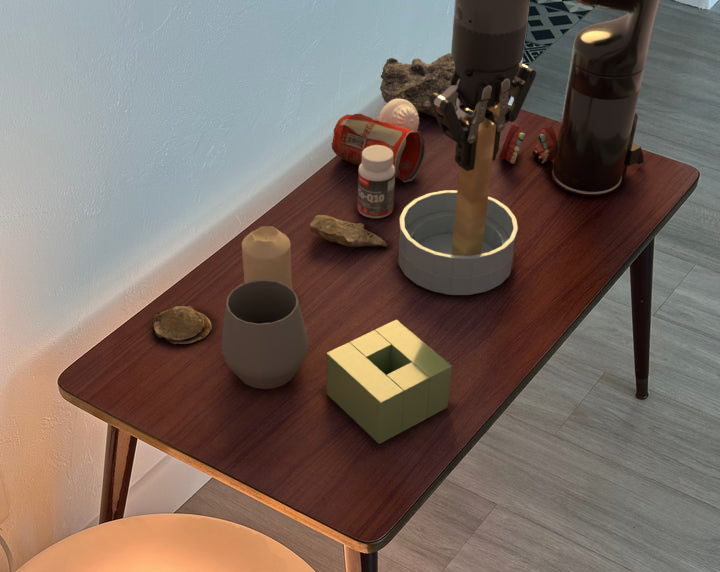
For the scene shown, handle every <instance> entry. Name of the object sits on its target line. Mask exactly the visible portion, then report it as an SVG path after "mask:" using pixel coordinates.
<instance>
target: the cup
mask: <svg viewBox="0 0 720 572" xmlns="http://www.w3.org/2000/svg"><path fill="white" fill-rule="evenodd" d="M224 309H225V310H224V319H223V327H222V333H221V334H222V336H221V343H220V350H221V353H222V356H223V359H224V362H225V364H226V365H227V366H228V367H229V368H230V369H231V371H232V372H233V373H234V374H235V375H236V376H237V377H238V379H240V380H241V381H242V382H243V384H245V385H247V386H249V387H251V388H254V389H260V390H271V389H276V388H279V387H282V386H284V385H286V384H287V383H288V382H290V381H291V380H292V379H293V378H294V376H295V375H296V373H297V372H298V370H299V369H300V367H301V366H302V365H303V363H304V362H305V360H306V359H307V356H308V350H309V337H308V333H307V328H306V325H305V324H306V323H305V320H304V316H303V313H302V308H301V305H300V301H299V297H298V295H297V293H296V291H295V290H294V289H293V288H292V289H291V288H290V287H289V286H288V285H286V284H283V283H281V282H278V281H273V280H266V279H265V280H253V281H250V282H246V283H245V282H244V283H241V284H240V285H238V286H236V287H234V288H233V289H232V290H231V291H230V293H229V294H228V295H227V297H226V302H225V308H224Z"/></svg>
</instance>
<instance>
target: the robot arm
mask: <svg viewBox="0 0 720 572" xmlns="http://www.w3.org/2000/svg"><path fill="white" fill-rule="evenodd" d="M575 1H576V2H577V3H579V4H581V5H585V6H589V7H593V8H601V9H607V10H613V11H620V12H626V14H624V15H622V16H620V17H618V18H617V17H616V18H615V19H611V20H606V21H602V22H597V23H593V24H591V25H588V26H586V27H584V28H582V29H580V31H579V32H578V33H577V34H576V36H575V38H574V40H573V45H572V50H571V57H570V64H569V68H568V69H569V70H568V75H567V76H568V77H567V82H566V89H565V94H564V101H563V108H562V114H561V119H560V126H559V131H558V138H557V143H556V146H555V149H554V153H555V151H556V155H555V159H554V163H553V167H552V170H551V179H552V181H553V182H554V184H555V185H556V186H557V187H558V188H559V189H561V190H563V191H564V192H567V193H568V194H572V195H575V196H578V197H579V196H580V197H586V198H598V197H604V196H608V195H610V194H613V193H614V192H616V191H617V190H618V189H619V188H620V187H621V184H622V180H623V179H625V178H626V176H627V170H628V168H629V167H631V166H632V165H634V164H637V165H641V164H643V163H644V162H645V159H644V153H643V151H642V146H640V145H639V144H637V143H635V142H634V139H635V133H636V129H637V124H638V121H639V115H638V113H637V111H636V110H637V107H638V101H639V96H640V92H641V86H642V82H643V77H644V73H645V67H646V64H647V63H646V62H647V59H648V58H647V57H648V53H649V49H650V47H649V46H650V42H651V36H652V33H653V28H654V23H655V19H656V16H657V13H658V8H659V5H660V1H661V0H575ZM530 5H531V0H454V8H453V9H454V10H453V23H452V37H451V50H450V52H451V53H450V54H452V57H453V60H454V65H455V69H454V73H453V75H452V77H451V80H450V87H449V88H448V89H447V90H445V91H444V92H443V93H442V94H441V95H439V94H438V93H433V94H432V95H431V96H430V104H431V106H432V108H433V111H434V113H435V116H436V117H435V118H436V120H437V124H438V125H439V128H440V130H441V132H442V134H443V135H445V136H446V137H448V138H449V139H450V140H452V141H454V142H455V153H454V161H455V163H456V164H457V165H458V167H459V166H460V167H462V168H463V169H465V170H466V171H470V170H472V169H473V168H474V161H475V151H476V141H475V140H476V138H477V133H478V128H479V124H480V123H482V122H483V121H484V117H485V118H487V119H488V120H490V121H491V122H493V123H495V124H496V132H495V141H494V150H493V159H492V162H493V161H496V160H497V159H496V158H497V154H498V152H499V148H500V141H501V134H502V133H501V132H502V131H503V130H504V129H505V127H506V124H507V123H508V122H510V123H514V122H515V121H516V120H517V118H518V116H519V114H520V112H521V110H522V108H523V105H524V103H525V101H526V98H527V96H528V95H529V92H530V89H531V87H532V85H533V83H534V80H535V78H536V76H537V70H535V69H534V68H532V67H531V66H529V65H527V64H525V63H523V62H522V61H523V59H524V52H525V44H526V36H527V29H528V21H529V12H530ZM511 98H513V101H512V103H511V106H510V107H509V103H510V100H511ZM456 99H457V101H456ZM467 121H468V128H466V122H467Z"/></svg>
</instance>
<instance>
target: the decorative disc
mask: <svg viewBox="0 0 720 572" xmlns="http://www.w3.org/2000/svg"><path fill="white" fill-rule="evenodd" d="M152 327H153V330H154V332H155V333H154V334H155V335H156V336H157V337H158V338H160V339H162V338H164V339H165V341H167V342H169V343H170V344H173V345H177V344H178V345H188V344H193V343H196V342H198V341H202V340H203V339H205V338H206V337H207V336H208V335H209V334H210V332H211V331H212V329H213V328H212V327H213V326H212V322H211V320H210V319H209V318H208V317H207V315H205V314H204V313H202V312H200V311H198V310H196V309H194V308H193V306H191V305H187V304H177V305H174V306H173V307H171V308H169V309H167V310H165V311H164V310H161V311H160V312H159V311H158V312H155V315H154V316H153V319H152Z"/></svg>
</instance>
